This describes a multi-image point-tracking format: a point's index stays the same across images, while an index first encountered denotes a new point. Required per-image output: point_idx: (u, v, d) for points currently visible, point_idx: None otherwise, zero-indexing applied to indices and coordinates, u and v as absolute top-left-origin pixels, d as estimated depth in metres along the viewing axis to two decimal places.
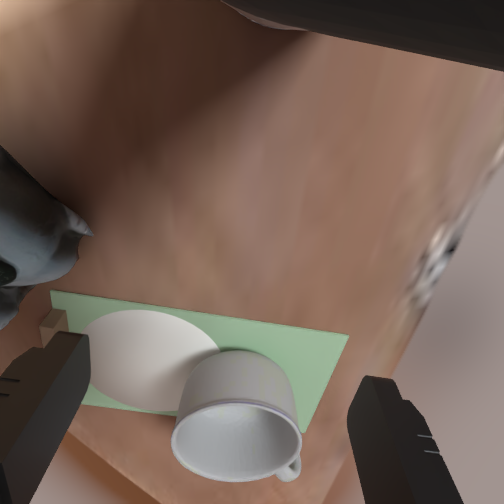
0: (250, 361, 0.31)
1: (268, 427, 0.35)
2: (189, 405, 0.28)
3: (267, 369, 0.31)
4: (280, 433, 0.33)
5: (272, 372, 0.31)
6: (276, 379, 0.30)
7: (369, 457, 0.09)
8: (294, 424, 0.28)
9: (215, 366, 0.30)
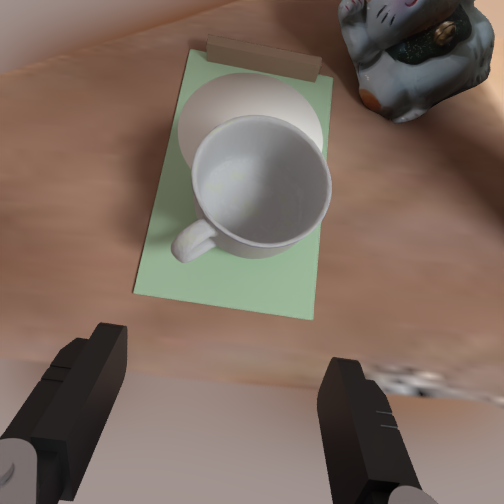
0: None
1: None
2: None
3: None
4: None
5: None
6: None
7: (332, 433, 0.10)
8: (303, 237, 0.26)
9: None
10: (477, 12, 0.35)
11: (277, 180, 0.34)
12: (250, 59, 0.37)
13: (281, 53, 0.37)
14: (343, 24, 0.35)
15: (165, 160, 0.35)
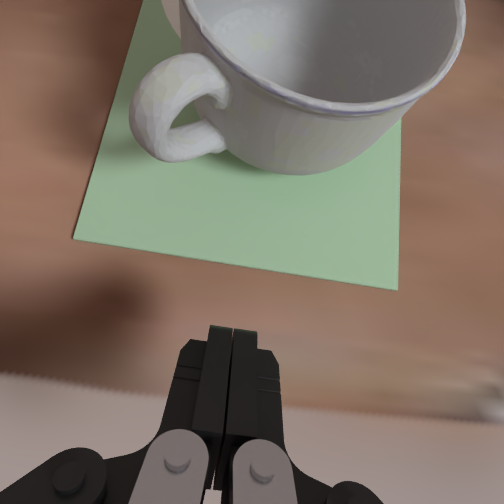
0: None
1: None
2: None
3: None
4: None
5: None
6: None
7: None
8: (417, 95, 0.12)
9: None
10: None
11: (329, 51, 0.20)
12: None
13: None
14: None
15: (138, 24, 0.20)
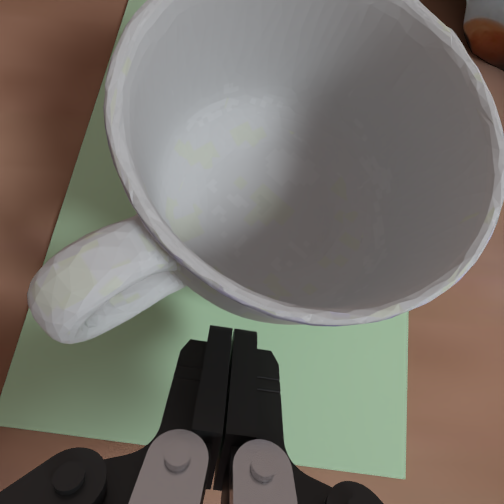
0: None
1: None
2: None
3: None
4: None
5: None
6: None
7: None
8: (435, 296, 0.08)
9: None
10: None
11: (329, 149, 0.16)
12: None
13: None
14: None
15: (91, 123, 0.17)
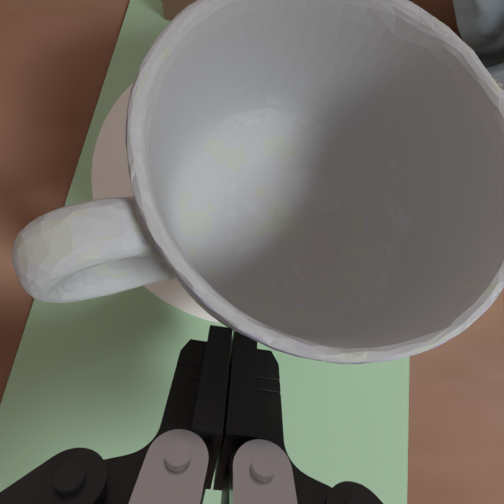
0: None
1: None
2: None
3: None
4: None
5: None
6: None
7: None
8: (408, 355, 0.08)
9: None
10: None
11: (357, 182, 0.16)
12: None
13: None
14: None
15: None
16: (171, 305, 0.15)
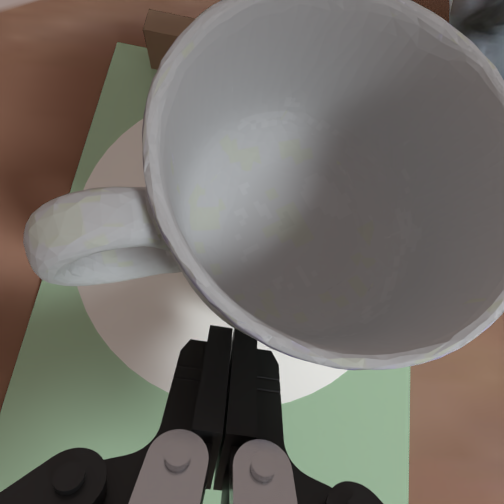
0: None
1: None
2: None
3: None
4: None
5: None
6: None
7: None
8: (405, 366, 0.08)
9: None
10: None
11: (369, 190, 0.16)
12: None
13: None
14: (462, 31, 0.14)
15: (35, 309, 0.14)
16: (156, 386, 0.14)
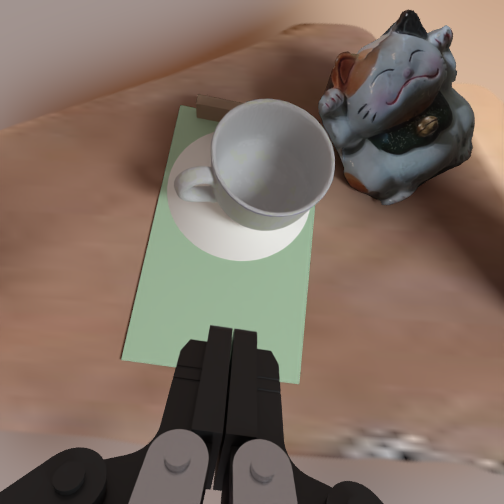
0: None
1: None
2: None
3: (299, 218, 0.33)
4: None
5: (294, 221, 0.33)
6: (293, 221, 0.32)
7: None
8: (285, 215, 0.29)
9: None
10: (456, 96, 0.35)
11: (294, 172, 0.37)
12: None
13: None
14: (324, 118, 0.34)
15: (154, 221, 0.35)
16: (204, 251, 0.35)
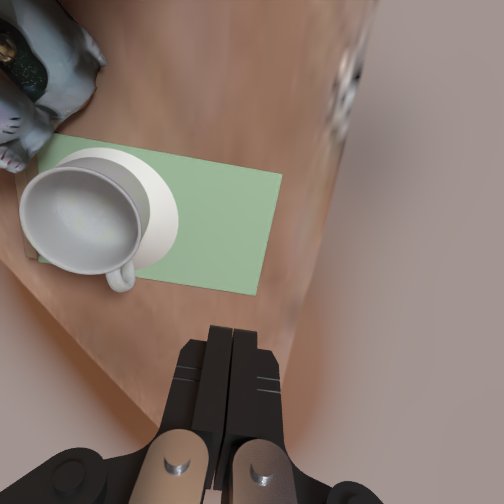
0: (122, 168, 0.35)
1: (116, 249, 0.39)
2: None
3: (134, 180, 0.35)
4: (125, 250, 0.37)
5: (137, 184, 0.35)
6: (138, 189, 0.35)
7: None
8: (139, 217, 0.33)
9: (89, 158, 0.34)
10: None
11: None
12: None
13: None
14: (29, 159, 0.32)
15: (151, 278, 0.44)
16: (172, 244, 0.42)
